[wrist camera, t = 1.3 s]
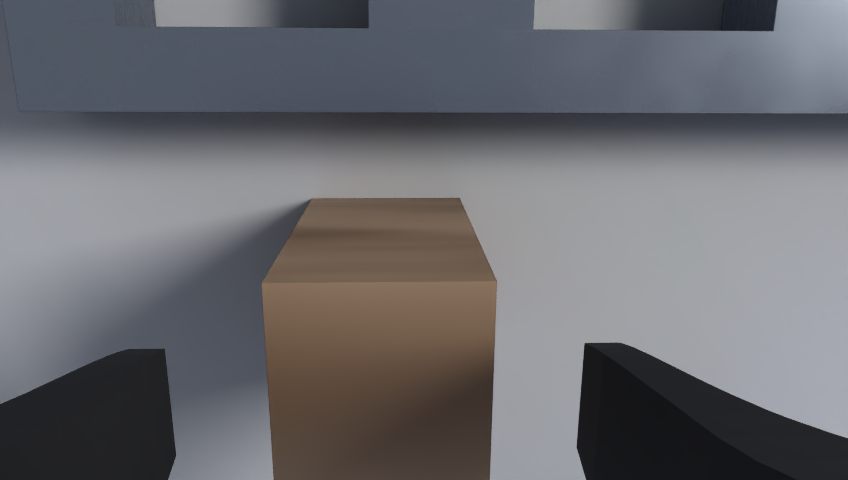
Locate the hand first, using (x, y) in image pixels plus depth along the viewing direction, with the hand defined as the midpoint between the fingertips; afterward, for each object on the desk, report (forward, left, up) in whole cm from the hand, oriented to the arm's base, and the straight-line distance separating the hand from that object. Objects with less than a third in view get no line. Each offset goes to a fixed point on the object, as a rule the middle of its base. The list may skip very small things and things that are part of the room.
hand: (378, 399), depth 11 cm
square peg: (0, 0, -8) cm, 8 cm away
